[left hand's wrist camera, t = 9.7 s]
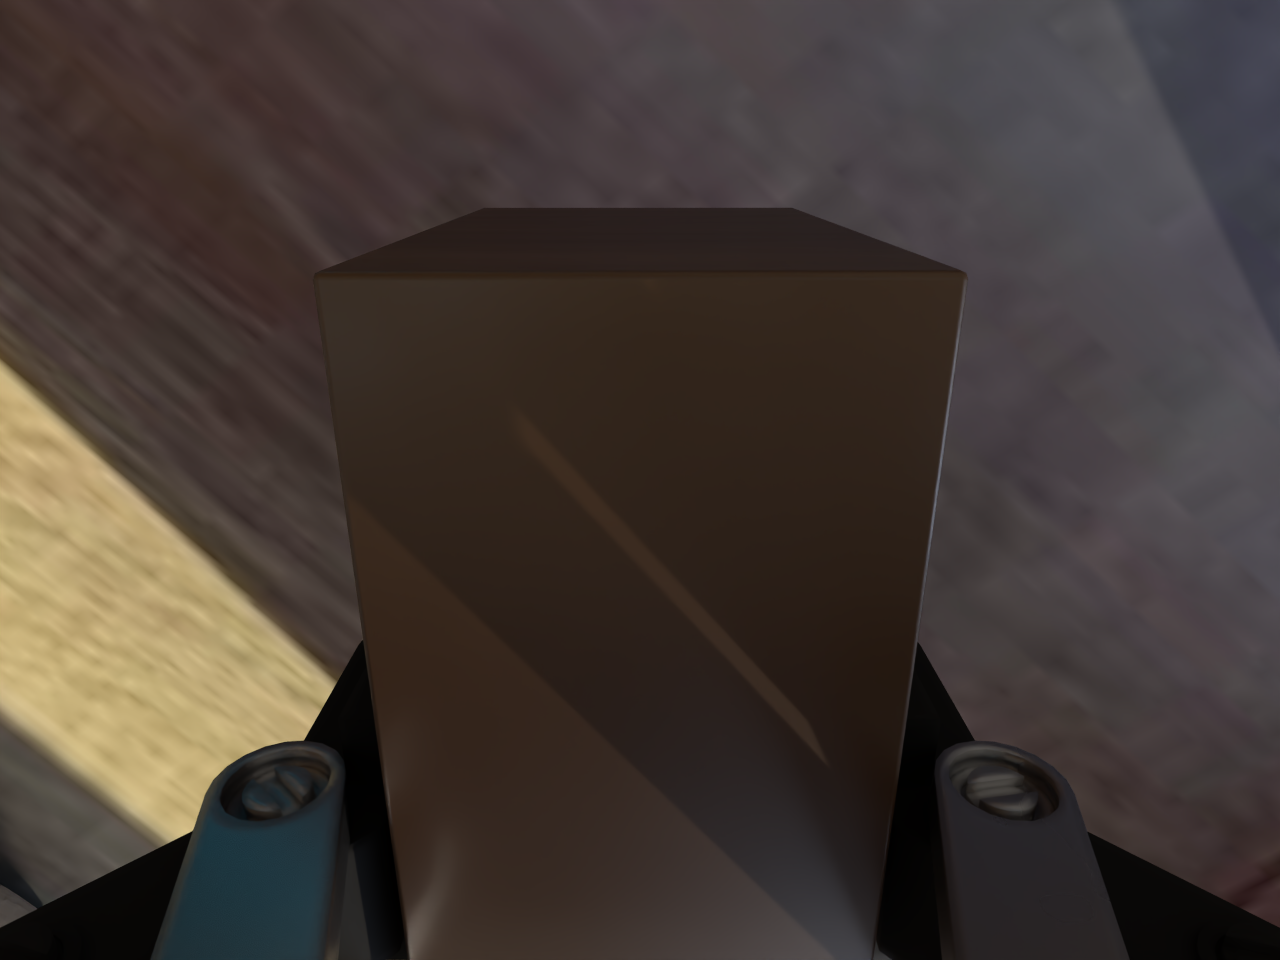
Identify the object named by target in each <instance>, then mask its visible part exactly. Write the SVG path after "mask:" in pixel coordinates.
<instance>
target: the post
mask: <svg viewBox="0 0 1280 960" xmlns="http://www.w3.org/2000/svg"><path fill="white" fill-rule="evenodd" d="M313 282H314V289H315V297H316V304H317V311H318V318H319V325H320V332H321V340H322V347H323V354H324V361H325V368H326V376H327V383H328V390H329V397H330V404H331V412H332V419H333V426H334V433H335V440H336V448H337V455H338V462H339V469H340V476H341V483H342V491H343V498H344V505H345V512H346V519H347V527H348V534H349V541H350V548H351V555H352V563H353V570H354V577H355V584H356V591H357V598H358V606H359V613H360V620H361V627H362V634H363V642H364V649H365V656H366V663H367V670H368V678H369V685H370V692H371V699H372V706H373V713H374V721H375V728H376V735H377V742H378V749H379V757H380V764H381V771H382V778H383V785H384V793H385V800H386V807H387V814H388V821H389V829H390V836H391V843H392V850H393V857H394V864H395V872H396V879H397V886H398V893H399V900H400V908H401V915H402V922H403V929H404V936H405V944H406V951H407V958H408V960H873V958H874V951H875V943H876V936H877V929H878V922H879V915H880V907H881V900H882V893H883V886H884V879H885V872H886V864H887V857H888V850H889V843H890V836H891V828H892V821H893V814H894V807H895V800H896V793H897V785H898V778H899V771H900V764H901V757H902V749H903V742H904V735H905V728H906V721H907V714H908V706H909V699H910V692H911V685H912V678H913V670H914V663H915V656H916V649H917V642H918V635H919V627H920V620H921V613H922V606H923V599H924V592H925V584H926V577H927V570H928V563H929V556H930V548H931V541H932V534H933V527H934V520H935V513H936V505H937V498H938V491H939V484H940V477H941V469H942V462H943V455H944V448H945V441H946V434H947V426H948V419H949V412H950V405H951V398H952V390H953V383H954V376H955V369H956V362H957V355H958V347H959V340H960V333H961V326H962V319H963V311H964V304H965V297H966V290H967V283H968V278H967V274H966V273H965V272H963V271H961V270H958V269H956V268H953V267H950V266H948V265H945V264H942V263H939V262H937V261H934V260H931V259H929V258H926V257H923V256H921V255H918V254H915V253H912V252H910V251H907V250H904V249H902V248H899V247H896V246H894V245H891V244H888V243H885V242H883V241H880V240H877V239H875V238H872V237H869V236H867V235H864V234H861V233H858V232H856V231H853V230H850V229H848V228H845V227H842V226H839V225H837V224H834V223H831V222H829V221H826V220H823V219H821V218H818V217H815V216H812V215H810V214H807V213H804V212H802V211H799V210H796V209H794V208H483V209H480V210H478V211H475V212H473V213H470V214H467V215H465V216H462V217H460V218H457V219H454V220H452V221H449V222H447V223H444V224H441V225H439V226H436V227H434V228H431V229H428V230H426V231H423V232H421V233H418V234H415V235H413V236H410V237H408V238H405V239H402V240H400V241H397V242H395V243H392V244H389V245H387V246H384V247H381V248H379V249H376V250H374V251H371V252H368V253H366V254H363V255H361V256H358V257H355V258H353V259H350V260H348V261H345V262H342V263H340V264H337V265H335V266H332V267H329V268H327V269H324V270H322V271H319V272H317V273H315V275H314V279H313Z"/></svg>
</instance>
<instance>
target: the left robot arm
mask: <svg viewBox="0 0 1280 960" xmlns="http://www.w3.org/2000/svg"><path fill="white" fill-rule="evenodd" d="M0 960H408V958H407V951H406V944H405V936H404V929H403V922H402V915H401V908H400V900H399V893H398V886H397V879H396V872H395V864H394V857H393V850H392V843H391V836H390V829H389V821H388V814H387V807H386V800H385V793H384V785H383V778H382V771H381V764H380V757H379V749H378V742H377V735H376V728H375V721H374V713H373V706H372V699H371V692H370V685H369V678H368V670H367V663H366V656H365V649H364V642H363V640H362V642H361V643H360V644H359V645H358V647H357V649H356V650H355V652H354V654H353V656H352V657H351V659H350V661H349V663H348V664H347V666H346V668H345V670H344V671H343V673H342V675H341V677H340V678H339V680H338V682H337V684H336V685H335V687H334V689H333V691H332V692H331V694H330V696H329V698H328V699H327V701H326V703H325V705H324V706H323V708H322V710H321V712H320V713H319V715H318V717H317V719H316V720H315V722H314V724H313V726H312V727H311V729H310V731H309V733H308V734H307V736H306V738H305V740H304V741H291V742H283V743H279V744H274V745H270V746H266V747H263V748H261V749H258V750H256V751H254V752H251V753H249V754H246V755H244V756H243V757H241V758H240V759H238V760H236V761H235V762H233V763H232V764H230V765H229V766H227V767H226V768H225V769H224V770H223V771H222V772H221V773H220V774H219V775H218V776H217V777H216V778H215V779H214V780H213V781H212V783H211V785H210V787H209V789H208V790H207V792H206V794H205V797H204V800H203V803H202V806H201V809H200V812H199V815H198V818H197V821H196V824H195V827H194V830H193V831H192V832H190V833H188V834H186V835H184V836H182V837H180V838H178V839H176V840H174V841H172V842H170V843H168V844H166V845H164V846H162V847H160V848H158V849H156V850H154V851H152V852H150V853H148V854H146V855H144V856H142V857H140V858H138V859H136V860H134V861H132V862H130V863H128V864H126V865H124V866H122V867H120V868H118V869H116V870H114V871H112V872H110V873H108V874H106V875H104V876H102V877H100V878H98V879H96V880H94V881H92V882H90V883H88V884H86V885H84V886H82V887H80V888H78V889H76V890H74V891H72V892H70V893H68V894H66V895H64V896H62V897H60V898H58V899H56V900H54V901H52V902H50V903H48V904H46V905H44V906H42V907H40V908H38V909H36V910H34V911H32V912H30V913H28V914H26V915H24V916H22V917H20V918H18V919H16V920H14V921H12V922H10V923H8V924H6V925H4V926H2V927H0ZM873 960H1280V928H1279V927H1277V926H1275V925H1273V924H1271V923H1269V922H1267V921H1265V920H1263V919H1261V918H1259V917H1257V916H1255V915H1253V914H1251V913H1249V912H1247V911H1245V910H1243V909H1241V908H1239V907H1237V906H1235V905H1233V904H1231V903H1229V902H1227V901H1225V900H1223V899H1221V898H1219V897H1217V896H1215V895H1213V894H1211V893H1209V892H1207V891H1205V890H1203V889H1201V888H1199V887H1197V886H1195V885H1193V884H1191V883H1189V882H1187V881H1185V880H1183V879H1181V878H1179V877H1177V876H1175V875H1173V874H1171V873H1169V872H1167V871H1165V870H1163V869H1161V868H1159V867H1157V866H1155V865H1153V864H1151V863H1149V862H1147V861H1145V860H1143V859H1141V858H1139V857H1137V856H1135V855H1133V854H1131V853H1129V852H1127V851H1125V850H1123V849H1121V848H1119V847H1117V846H1115V845H1113V844H1111V843H1109V842H1107V841H1105V840H1103V839H1101V838H1099V837H1097V836H1095V835H1093V834H1091V833H1089V832H1087V830H1086V827H1085V824H1084V821H1083V818H1082V815H1081V812H1080V809H1079V806H1078V803H1077V800H1076V797H1075V794H1074V792H1073V790H1072V789H1071V787H1070V785H1069V783H1068V781H1067V780H1066V779H1065V778H1064V777H1063V776H1062V775H1061V774H1060V773H1059V772H1058V771H1057V770H1056V769H1055V768H1054V767H1053V766H1051V765H1050V764H1048V763H1047V762H1045V761H1044V760H1042V759H1040V758H1039V757H1037V756H1036V755H1034V754H1031V753H1029V752H1026V751H1024V750H1022V749H1019V748H1017V747H1014V746H1010V745H1006V744H1001V743H997V742H989V741H975V740H974V738H973V737H972V735H971V733H970V731H969V730H968V728H967V726H966V724H965V723H964V721H963V719H962V717H961V716H960V714H959V712H958V710H957V709H956V707H955V705H954V703H953V702H952V700H951V698H950V696H949V695H948V693H947V691H946V689H945V688H944V686H943V684H942V682H941V681H940V679H939V677H938V675H937V674H936V672H935V670H934V668H933V667H932V665H931V663H930V661H929V660H928V658H927V656H926V654H925V653H924V651H923V649H922V647H921V646H920V644H919V643H918V642H917V649H916V656H915V663H914V670H913V678H912V685H911V692H910V699H909V706H908V714H907V721H906V728H905V735H904V742H903V749H902V757H901V764H900V771H899V778H898V785H897V793H896V800H895V807H894V814H893V821H892V828H891V836H890V843H889V850H888V857H887V864H886V872H885V879H884V886H883V893H882V900H881V907H880V915H879V922H878V929H877V936H876V943H875V951H874V958H873Z"/></svg>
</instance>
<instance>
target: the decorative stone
mask: <svg viewBox="0 0 1280 960" xmlns="http://www.w3.org/2000/svg"><path fill="white" fill-rule="evenodd" d="M36 909H37V908H36V907H34V906H33V905H32V904H30V903H29V902H27V901H26V900H24V899H23V898H21V897H20V896H18V895H17V894H15V893H14V892H12V891H11V890H9V889H8V888H6V887H4V886H2V885H0V927H2V926H4V925H6V924H8V923H10V922H12V921H14V920H16V919H18V918H20V917H22V916H24V915H26V914H28V913H30V912H32V911H34V910H36Z"/></svg>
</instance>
